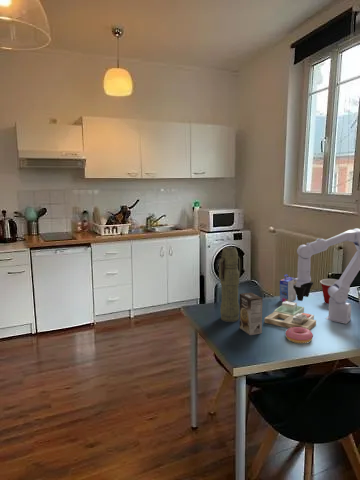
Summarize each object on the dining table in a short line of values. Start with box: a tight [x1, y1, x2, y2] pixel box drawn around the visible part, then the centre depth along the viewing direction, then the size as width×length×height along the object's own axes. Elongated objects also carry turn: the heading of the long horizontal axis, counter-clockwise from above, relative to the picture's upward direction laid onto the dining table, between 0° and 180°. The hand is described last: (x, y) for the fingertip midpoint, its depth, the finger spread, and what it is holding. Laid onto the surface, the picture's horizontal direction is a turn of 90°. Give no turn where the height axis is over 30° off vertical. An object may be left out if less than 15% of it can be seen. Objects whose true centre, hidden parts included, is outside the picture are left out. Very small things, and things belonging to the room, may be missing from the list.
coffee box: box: [239, 292, 263, 336], centre depth 160 cm, size 9×6×16 cm
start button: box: [302, 312, 312, 318], centre depth 172 cm, size 4×4×2 cm
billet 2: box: [293, 314, 307, 325], centre depth 164 cm, size 4×6×5 cm, turn 141°
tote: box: [273, 305, 305, 316], centre depth 181 cm, size 10×13×2 cm
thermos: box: [218, 246, 241, 323], centre depth 173 cm, size 9×12×35 cm
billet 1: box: [281, 301, 298, 314], centre depth 181 cm, size 4×6×5 cm, turn 51°
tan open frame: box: [264, 311, 317, 331], centre depth 167 cm, size 20×11×2 cm, turn 51°
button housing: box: [300, 312, 315, 320], centre depth 172 cm, size 6×6×2 cm
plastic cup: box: [319, 278, 338, 305], centre depth 195 cm, size 11×11×12 cm
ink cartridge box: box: [279, 273, 297, 303], centre depth 201 cm, size 10×6×14 cm, turn 138°
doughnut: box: [284, 327, 314, 344], centre depth 151 cm, size 11×11×4 cm
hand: (303, 298), depth 173 cm, fingers open, 7 cm apart
